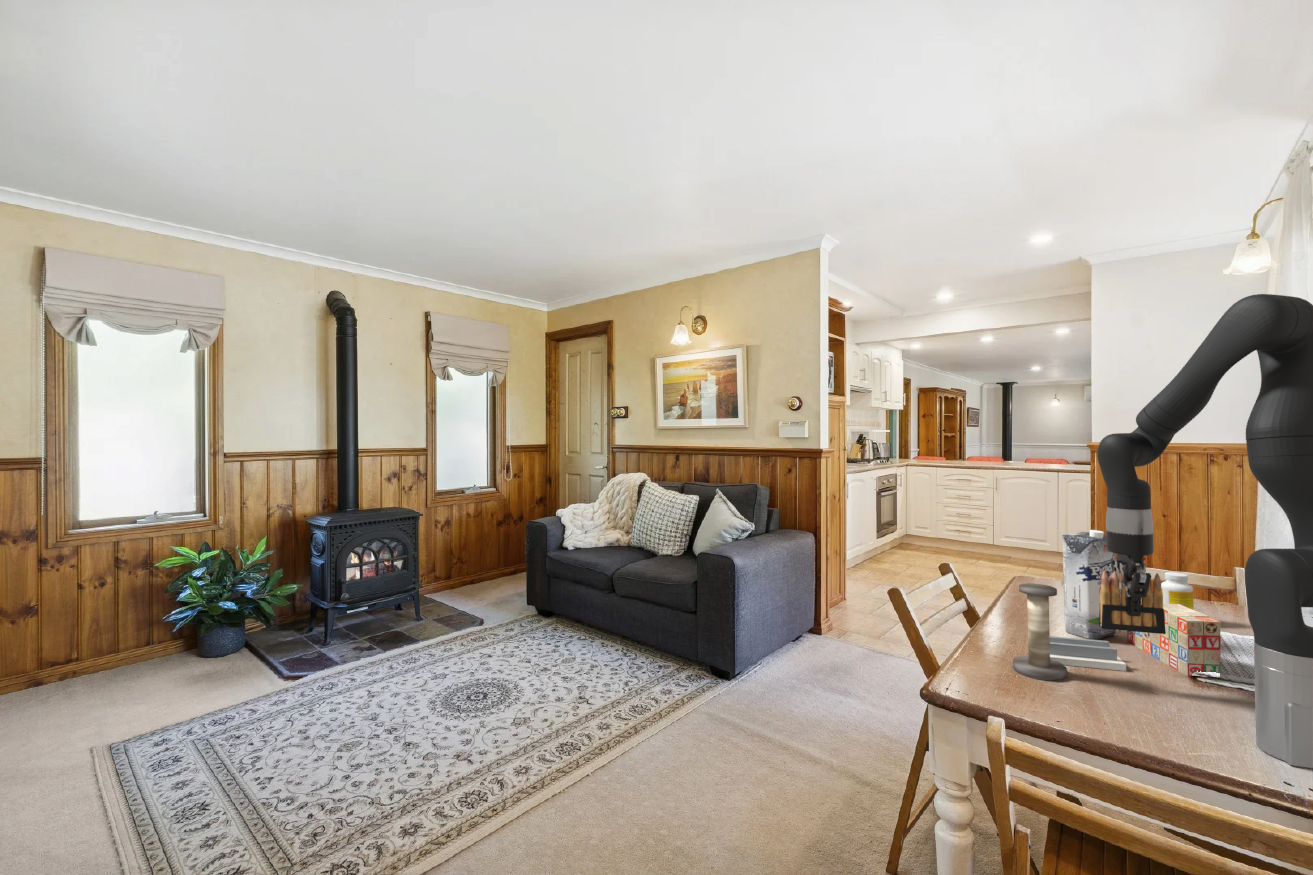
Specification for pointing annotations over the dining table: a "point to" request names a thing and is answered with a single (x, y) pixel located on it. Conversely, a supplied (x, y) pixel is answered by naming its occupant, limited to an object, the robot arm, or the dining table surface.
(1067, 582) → the juice carton
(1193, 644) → the stack of blocks
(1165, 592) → the supplement bottle
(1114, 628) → the ammunition clip
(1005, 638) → the dining table surface
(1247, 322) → the robot arm
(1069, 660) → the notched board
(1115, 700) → the dining table surface
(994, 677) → the dining table surface
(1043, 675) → the bobbin post
